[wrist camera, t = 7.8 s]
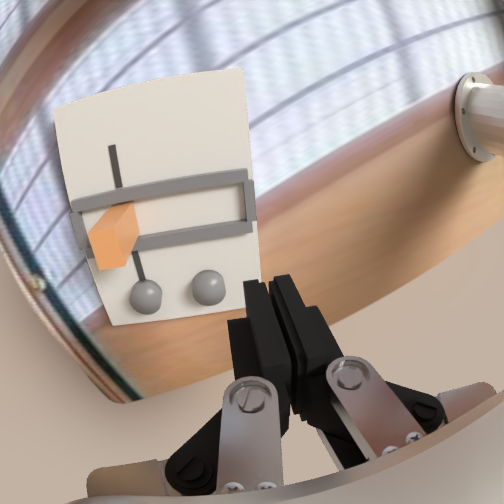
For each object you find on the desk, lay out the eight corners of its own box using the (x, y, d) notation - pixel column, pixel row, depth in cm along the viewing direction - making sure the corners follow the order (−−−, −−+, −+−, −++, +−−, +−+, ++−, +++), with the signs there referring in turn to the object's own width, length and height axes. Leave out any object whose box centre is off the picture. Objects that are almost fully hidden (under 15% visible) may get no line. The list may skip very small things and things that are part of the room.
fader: (132, 201, 22) (114, 227, 17) (139, 232, 23) (125, 266, 18) (111, 205, 22) (87, 233, 16) (118, 236, 23) (99, 270, 18)
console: (239, 72, 21) (246, 64, 18) (259, 293, 31) (266, 313, 28) (62, 108, 19) (45, 108, 16) (116, 314, 29) (110, 335, 26)
